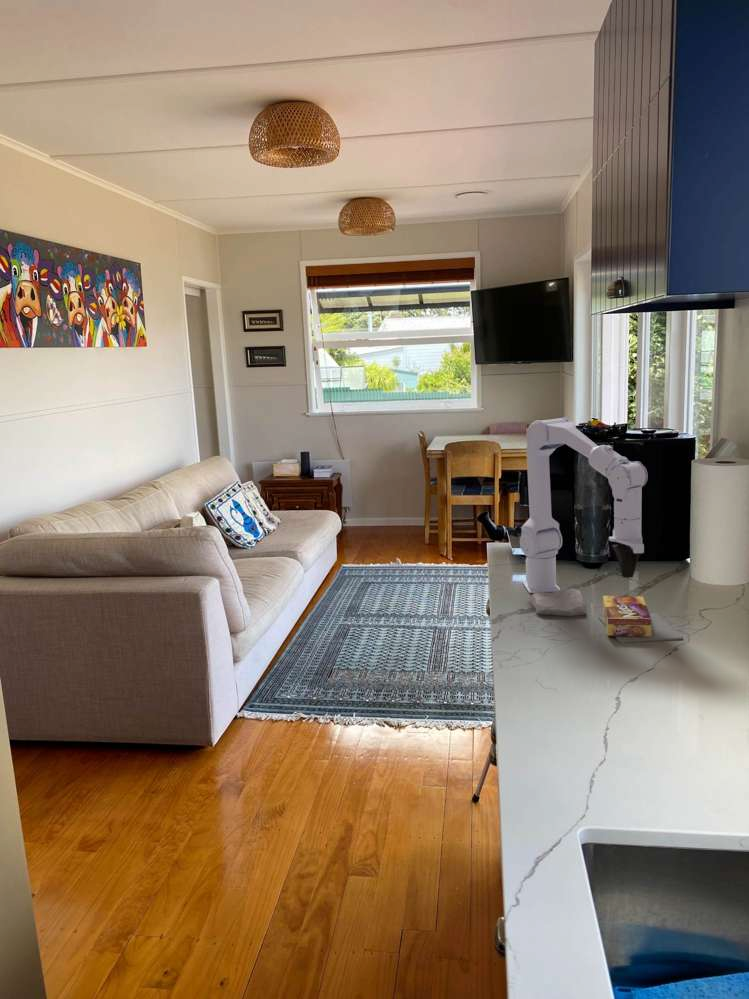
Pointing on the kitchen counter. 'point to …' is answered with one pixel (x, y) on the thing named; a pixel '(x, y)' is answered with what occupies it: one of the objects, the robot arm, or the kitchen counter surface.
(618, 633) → the candy box
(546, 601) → the stone block
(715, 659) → the kitchen counter surface
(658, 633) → the mat
